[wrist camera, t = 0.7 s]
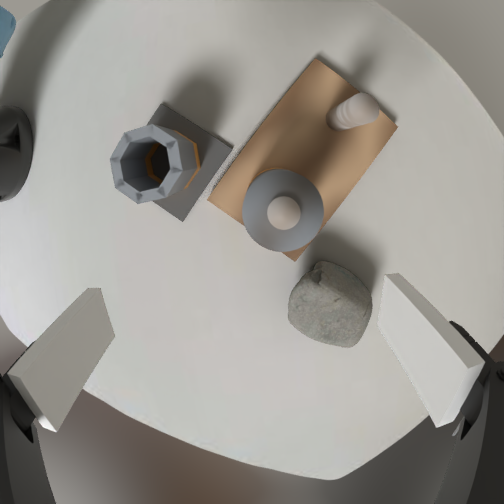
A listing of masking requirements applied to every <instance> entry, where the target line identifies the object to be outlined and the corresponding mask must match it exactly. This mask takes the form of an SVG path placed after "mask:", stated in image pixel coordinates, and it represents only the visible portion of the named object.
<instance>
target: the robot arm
mask: <svg viewBox="0 0 504 504" xmlns="http://www.w3.org/2000/svg"><path fill="white" fill-rule="evenodd" d="M15 27H16V20H15V17H14V16H13V15H12V14H11V13H10V12H8V11H7V10H6V9H4V8H3V7H1V6H0V58H2V56H3V52H4V49H5V47H6V45H7V43H8V42H9V40H10V38H11V36H12V34H13V32H14V30H15ZM31 158H32V132H31V127H30V123H29V121H28V118H27V116H26V115H25V113H24V112H23V111H22V110H21V109H19V108H17V107H12V106H2V107H0V202H3V201H6V200H9V199H11V198H13V197H14V196H15V195H16V194H17V193H18V192H19V191H20V190H21V188H22V186H23V185H24V182H25V180H26V178H27V175H28V172H29V168H30V164H31ZM377 327H378V328H379V330H380V332H381V333H382V335H383V336H384V338H385V339H386V341H387V343H388V344H389V346H390V348H391V349H392V351H393V352H394V354H395V356H396V357H397V359H398V361H399V362H400V364H401V366H402V367H403V369H404V371H405V372H406V374H407V376H408V377H409V379H410V381H411V383H412V384H413V386H414V388H415V390H416V391H417V393H418V395H419V397H420V398H421V400H422V402H423V404H424V406H425V407H426V409H427V411H428V413H429V415H430V416H431V418H432V420H433V422H434V424H435V426H436V427H439V426H442V425H445V424H447V423H449V422H452V421H454V419H455V417H456V416H457V414H458V412H459V411H460V410H461V412H462V413H463V415H464V417H463V419H462V420H461V422H460V423H459V425H458V426H457V428H456V429H455V431H454V432H453V434H452V436H455V435H456V433H457V432H458V435H457V439H456V442H455V446H454V450H453V453H452V456H451V459H450V463H449V466H448V469H447V472H446V475H445V477H444V480H443V483H442V485H441V488H440V491H439V493H438V496H437V498H436V500H435V503H434V504H504V362H501V361H500V362H497V363H495V362H494V361H493V360H492V358H491V357H490V356H489V355H488V354H487V353H486V352H485V350H484V349H483V348H482V347H481V346H480V345H479V344H478V343H477V342H475V340H474V339H473V338H472V337H471V336H469V333H468V332H467V331H466V330H465V329H464V328H463V327H462V326H460V325H458V324H456V323H455V322H453V321H449V322H448V321H447V320H446V319H445V318H444V316H443V315H442V314H441V313H440V312H439V311H438V310H437V309H436V308H435V307H434V306H433V305H432V304H431V303H430V302H429V301H428V300H427V299H426V298H425V297H424V296H423V295H422V294H420V293H419V292H418V291H417V290H416V289H415V288H414V287H413V286H412V285H411V284H410V283H409V282H408V281H407V280H406V279H405V278H404V277H403V276H402V275H400V274H399V273H396V274H385V277H384V285H383V292H382V299H381V305H380V311H379V317H378V322H377ZM114 337H115V334H114V331H113V328H112V325H111V322H110V319H109V315H108V312H107V309H106V306H105V302H104V299H103V295H102V292H101V288H88V289H87V290H86V291H84V292H83V293H82V294H81V295H80V296H79V297H78V298H77V299H76V300H75V301H74V302H73V303H72V304H71V305H70V306H69V307H68V308H67V309H66V310H65V311H64V312H63V313H62V314H61V315H60V316H59V317H58V318H57V319H56V320H55V321H54V322H53V323H52V324H51V325H50V326H49V327H48V328H47V329H46V330H45V332H44V333H43V334H42V335H41V336H40V337H39V338H38V339H37V340H36V341H34V342H33V343H32V344H31V345H30V346H29V347H28V348H27V349H26V352H24V353H23V354H22V355H21V357H19V358H18V359H17V360H16V362H15V363H14V364H13V365H12V366H11V367H10V369H9V370H8V371H7V372H6V373H5V374H4V376H3V377H2V376H1V374H0V504H56V502H55V500H54V496H53V493H52V490H51V487H50V484H49V481H48V477H47V474H46V470H45V466H44V462H43V458H42V454H41V450H40V445H39V440H38V434H37V429H36V427H35V425H34V423H33V420H34V419H35V417H36V418H37V420H38V421H39V422H40V424H41V425H42V426H43V427H44V428H47V429H49V430H52V431H55V432H57V431H58V430H59V427H60V426H61V424H62V422H63V420H64V419H65V417H66V415H67V414H68V412H69V410H70V408H71V407H72V405H73V403H74V401H75V399H76V398H77V396H78V394H79V393H80V391H81V389H82V388H83V386H84V385H85V383H86V381H87V380H88V378H89V376H90V375H91V373H92V372H93V370H94V368H95V367H96V365H97V364H98V362H99V360H100V359H101V357H102V356H103V354H104V353H105V351H106V349H107V348H108V346H109V345H110V343H111V342H112V340H113V339H114Z"/></svg>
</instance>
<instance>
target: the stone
mask: <svg viewBox="0 0 504 504" xmlns="http://www.w3.org/2000/svg"><path fill="white" fill-rule="evenodd" d="M288 309H289V313H288V320H289V321H290V323H291V324H292V325H293V326H294V327H295V328H296V329H298V330H299V331H300V332H301V333H303V334H304V335H306V336H307V337H309V338H311V339H314V340H316V341H319V342H322V343H326V344H329V345H334V346H340V347H344V348H350V347H353V346H354V345H355V344H357V343H358V342H359V340H360V339H361V337H362V335H363V333H364V331H365V329H366V327H367V325H368V322H369V320H370V317H371V313H372V297H371V294H370V292H369V291H368V289H367V288H366V287H365V286H364V285H363V283H362V282H361V281H360V280H359V279H358V278H357V277H356V276H355V275H354V274H352V273H351V272H349V271H348V270H346V269H345V268H343V267H341V266H338V265H336V264H334V263H331V262H327V261H319V262H318V263H316V264H315V266H314V270H313V271H310V272H308V273H306V274H305V275H304V276H303V277H302V278H301V280H300V281H299V282H298V283H297V284H296V286H295V287H294V288H293V290H292V292H291V295H290V298H289V303H288Z"/></svg>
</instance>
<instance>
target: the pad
mask: <svg viewBox="0 0 504 504" xmlns="http://www.w3.org/2000/svg"><path fill="white" fill-rule="evenodd" d="M151 124H154V125H157V126H161V127H164V128H168V129H171V130H175V131H178V132H179V133H181V134H182V135H184V136H185V137H187V138H188V139H190V140H191V141H193V142H195V143H196V144H197V149H198V155H199V161H200V166H201V168H200V169H199V171H198V172H197V174H196V175H195V177H194V178H193V180H192V181H191V183H190V184H189V186H188V187H187V188H186V189H183V190H181V191H179V192H177V193H175V194H173V195H171V196H168V197H166V198H162V199H158V200H153V202H155V203H156V204H157V205H159V206H160V207H162V208H163V209H165V210H166V211H168V212H169V213H170V214H172V215H173V216H175V217H176V218H178V219H179V220H181V221H182V222H183V221H184V219H185V218H186V216H187V215H188V213H189V212H190V210H191V209H192V207H193V206H194V204H195V203H196V201H197V200H198V198H199V197H200V195H201V194H202V192H203V191H204V189H205V188H206V186H207V185H208V183H209V182H210V180H211V179H212V178H213V176H214V175H215V173H216V172H217V170H218V169H219V168H220V166H221V165H222V163H223V162H224V161H225V159H226V158H227V156H228V155H229V154H230V152H231V151H232V149H231V148H230V147H228V146H227V145H226V144H224V143H223V142H221V141H220V140H218V139H217V138H215V137H214V136H212V135H210V134H209V133H207V132H206V131H204V130H203V129H201V128H200V127H198V126H197V125H195V124H193V123H192V122H190V121H189V120H187V119H186V118H184V117H182V116H181V115H179V114H178V113H176V112H174V111H173V110H171V109H169V108H168V107H166V106H164V105H163V104H160V106H159V107H158V109H157V110H156V112H155V113H154V115H153V116H152V118H151V119H150V121H149V122H148V124H147V126H148V125H151ZM151 163H152V169H153V174H154V175H155V176H157V177H158V178H160V179H161V180H164V179H165V177H166V175H167V174H168V172H169V171H170V169H171V168H170V163H169V157H168V152H167V147H165V146H164V145H162V144H159V146H158V147H157V149H156V151H155V152H154V154H153V155H152V157H151Z"/></svg>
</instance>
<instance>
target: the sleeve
mask: <svg viewBox="0 0 504 504" xmlns="http://www.w3.org/2000/svg"><path fill="white" fill-rule="evenodd" d="M159 144H162V145H164V146H165V147H167V152H168V157H169V163H170V168H171V169H170V171H169V172H168V174H167V175H166V177H165V179H164V180H161V179H160V178H158V177H157V176H155V175H154V174H153V169H152V163H151V157H152V155H153V154H154V152H155V151H156V149H157V147H158V146H159ZM110 163H111V169H112V174H113V179H114V184H115V188H116V189H118V190H119V191H120V192H122V193H123V194H125V195H126V196H127V197H129V198H130V199H132V200H133V201H134V202H136V203H137V204H140V203H144V202H149V201H153V200H158V199H162V198H166V197H168V196H171V195H173V194H175V193H177V192H179V191H181V190H183V189H186V188H187V187H188V186H189V184H190V183H191V181H192V180H193V178H194V177H195V175H196V174H197V172H198V171H199V169H200V168H201V166H200V161H199V155H198V149H197V144H196V143H195V142H193V141H191V140H190V139H188V138H187V137H185V136H184V135H182V134H181V133H179V132H178V131H175V130H171V129H168V128H164V127H161V126H157V125H154V124H151V125H148V126H144V127H141V128H138V129H135V130H131V131H128V132H125V133H124V135H123V136H122V138H121V140H120V141H119V143H118V145H117V147H116V148H115V150H114V152H113V154H112V156H111V158H110Z"/></svg>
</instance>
